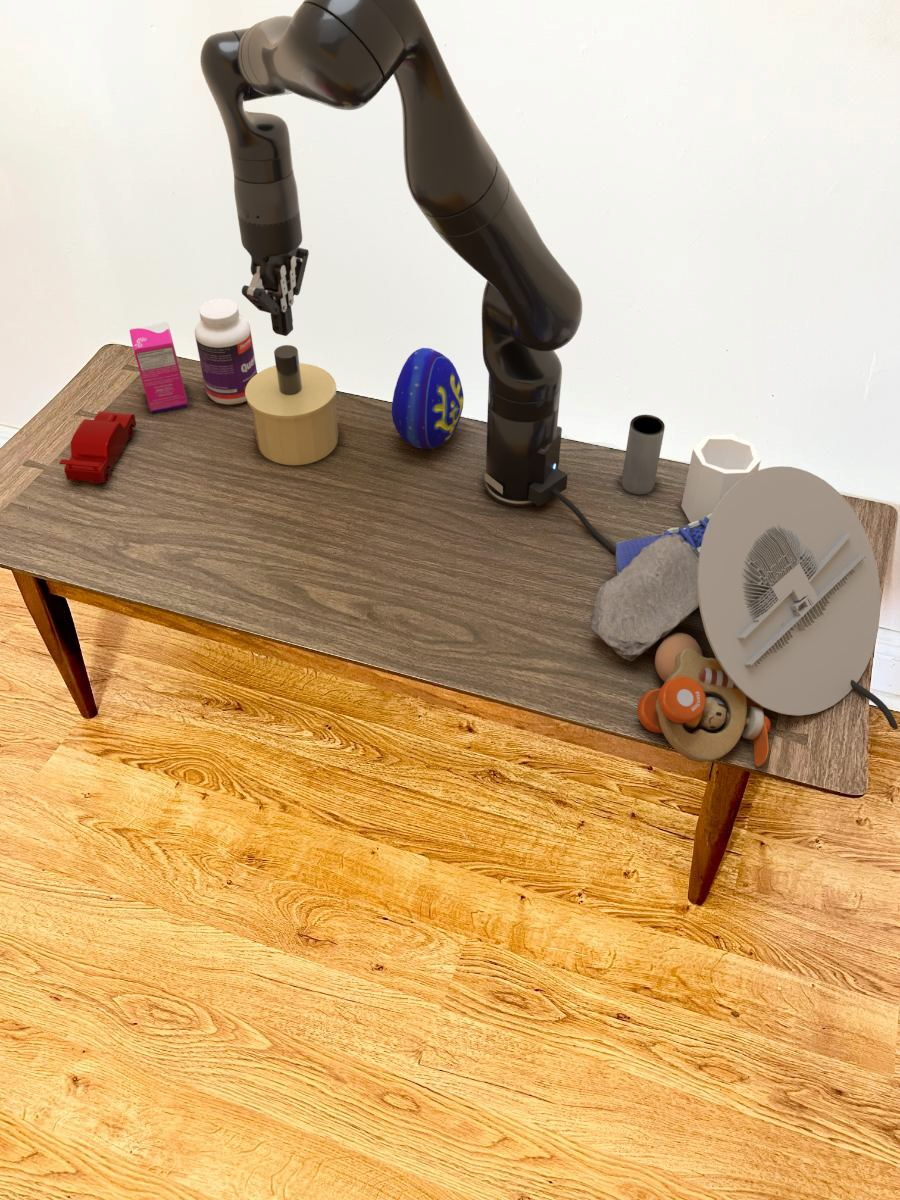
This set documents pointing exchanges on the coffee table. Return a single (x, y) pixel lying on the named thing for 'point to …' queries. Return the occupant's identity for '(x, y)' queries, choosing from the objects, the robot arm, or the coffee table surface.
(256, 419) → the pot
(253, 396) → the lid
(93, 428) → the toy car
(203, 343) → the pill bottle
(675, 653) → the egg
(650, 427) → the grey hollow tube
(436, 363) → the ornament
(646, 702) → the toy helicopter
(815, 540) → the plate
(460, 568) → the coffee table surface
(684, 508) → the mug
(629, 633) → the stone
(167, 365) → the supplement box
